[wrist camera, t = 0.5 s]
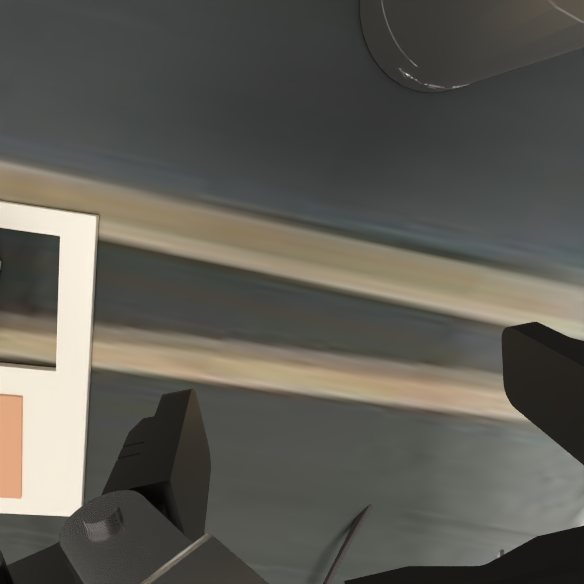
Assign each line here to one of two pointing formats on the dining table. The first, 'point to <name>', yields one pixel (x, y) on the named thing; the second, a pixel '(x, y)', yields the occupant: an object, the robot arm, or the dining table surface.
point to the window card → (51, 379)
